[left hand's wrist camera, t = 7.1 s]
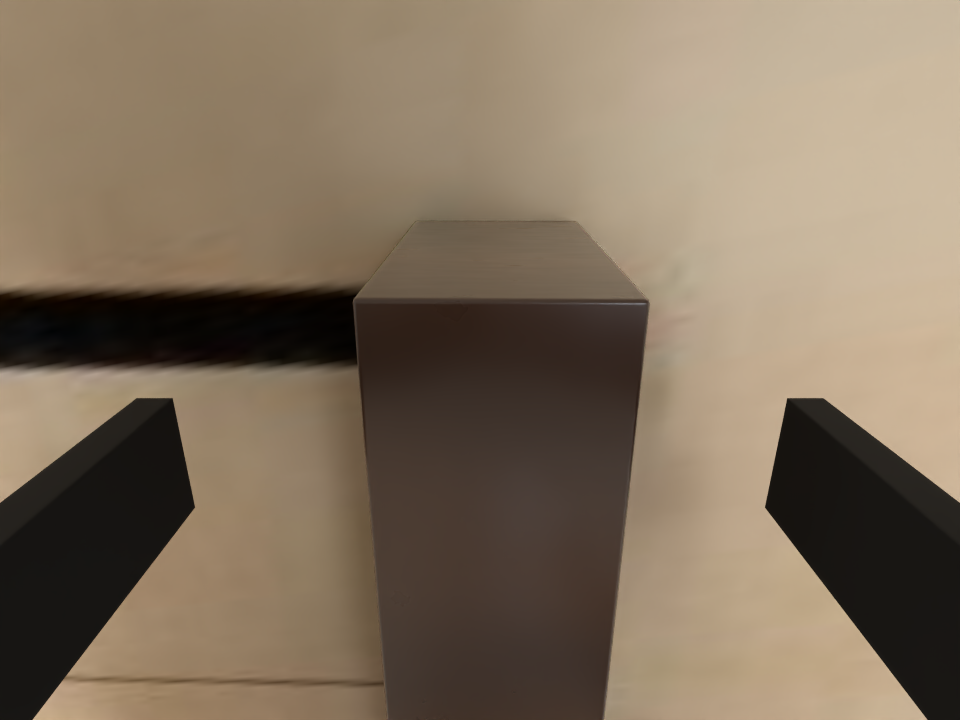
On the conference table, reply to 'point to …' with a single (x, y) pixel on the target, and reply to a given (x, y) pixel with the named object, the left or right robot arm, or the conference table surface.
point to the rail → (498, 465)
